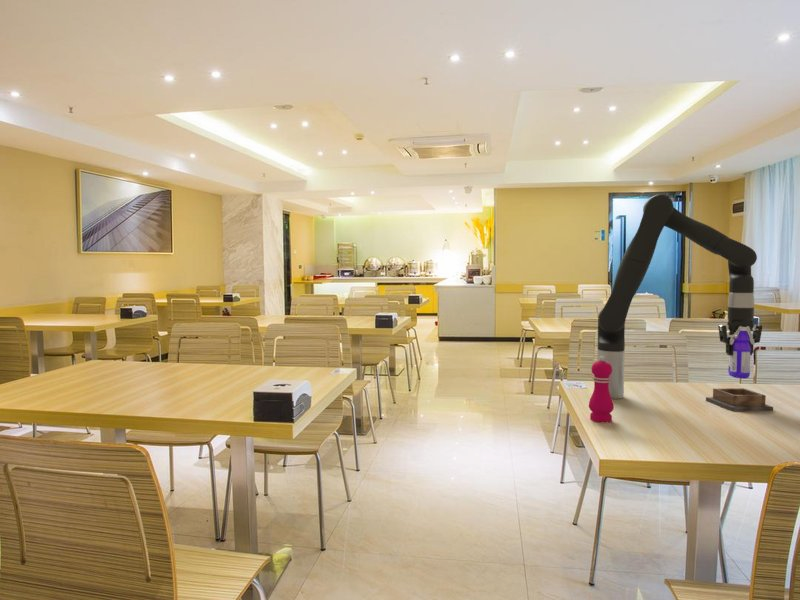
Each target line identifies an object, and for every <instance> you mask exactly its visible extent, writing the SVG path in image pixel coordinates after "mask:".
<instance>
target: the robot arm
mask: <svg viewBox="0 0 800 600" xmlns="http://www.w3.org/2000/svg"><path fill="white" fill-rule="evenodd" d="M642 208H643V209H642V212H643V213H642V217H641V220H640V223H639V226H638V229H637V231H636V232H635V235H634V236H633V238H632V240H631V241H630V243H629V244H628V246H627V248H626V250H625V252H624V254H623V257H622V258H621V261H620V263H619V266H618V269H617V272H616V275H615V278H614V282H613V286H612V290H611V293H610V294H609V297H608V299H607V300H606V303H605V305H604V306H603V308H602V309H601V310H600V311H599V313H598V317H597V361H599V357H600V356H603V357H605V362H608V363H609V364H610V365H611V367H612V373H611V375H610V376H609V377H610V382H609V393H610V396H611V398H612V400H614V399H615V400H617V399H623V398H624V396H625V394H624V393H625V347H626V346H625V345H626V344H625V342H626V341H625V337H626V336H625V331H626V329H625V327H626V325H625V324H626V321H627V316H628V312H629V310H630V306H631V305H632V304H631V303H632V300H633V298H634V297H635V294H637V291H638V289H640V286H641V285H642V283H643V281H644V278H645V276H646V274H647V272H648V270H649V268H650V265H651V262H652V259H653V257H654V254H655V251H656V247H657V244H658V240H659V237H660V236H661V233H662V231H663V229H664V228H665V227H666V228H669V229H671V230H672V231H675V233H678V234H680V235H682V236H684V237H685V238H687V239H689V240H690V241H691V242H693V243H694V244H696V245H698V246H700V247H701V248H703V249H705V250H706V251H708V252H710V253H712V254H713V255H717V256H720V257H721V258H724V259H725V260H727V267H728V268H727V269H728V274H729V283H728V284H729V286H728V297H727V323H726V324H719V325H718V335H719V341H720V342H721V343H723V344H725V353H726V355H728V356H729V355H730V356H732V355H733V345H732V344H733V342H734V339H736V338H737V336H738V334H739V332H740V331H741V327H747V334H748V337H749V339H750V341H749V345H750V348H751V351H750V356H753V354H754V345H755V344H758V343H760V342H761V337H762V332H763V325H761V324H754V322H753V321H754V319H755V296H754V292H755V291H754V289H755V288H754V287H755V284H754V283H755V282H754V281H755V280H754V277H753V276H752V266H753V265H755V264H756V262H757V260H758V256H757V255H758V254H757V252H756V251H755V250H754V249H753V248H751V246H748V245H746V244H744V243H742V242H739V241H737V240H735V239H733V238H731V237H729V236H728V235H726V234H725V233H723V232H721V231H719V230H717V229H715V228H714V227H712V226H710V225H708V224H705V223H702V222H701V221H698V220H696V219H693V218H692V217H690V216H687V215H686V214H685V213H682V212H680V211H679V210H678V209H676V208H675V207H674V203H673V200H672V198H670V196H668V195H666V194H655V195H653V196H651V197H649V198H648V199H647V200H646V202H645V203H644V205H643V207H642ZM727 331H728V332H727ZM597 361H596V362H597Z"/></svg>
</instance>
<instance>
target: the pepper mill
mask: <svg viewBox="0 0 800 600" xmlns="http://www.w3.org/2000/svg"><path fill="white" fill-rule="evenodd" d="M591 373H592V374H593V376H592V378H593V379H592V381H593V382H594V383H593V384H594V386H593V387H594V388H593V392H592V394H591V396H590V399H589V402H588V408H589V410H590V413H589V414H590V415H589V416H590V417H589V419H590V420H591V421H592V420H593V422H595V421H596V423H601V422H605V423H604V424H606V422H608V423H611V422H612V419H613V416H612V412H613V411H614V409H615V406H614V405H615V404H614V401H613V399H612V398H611V396H610V393H609V382H610V377H609V376H610V375H611V373H612V367H611V365H610V364H609V363H608V362H605V357H603V356H600V357H599V361H595V362H593V364H592V365H591Z"/></svg>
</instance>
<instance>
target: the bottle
mask: <svg viewBox="0 0 800 600" xmlns="http://www.w3.org/2000/svg"><path fill="white" fill-rule="evenodd" d="M749 341H750V339H749V337H748V334H747V327H741V331H740V332H739V334H738V336H737V338H736V339H734V342H733V344H732V345H733V355H732V356H730V355H728V370H727V372H728V375H729V376H730V377H732V378H736V379H748V378H749V377H750V374H751V355H750V351H751V348H750V345H749Z"/></svg>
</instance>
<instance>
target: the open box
mask: <svg viewBox="0 0 800 600" xmlns="http://www.w3.org/2000/svg"><path fill="white" fill-rule="evenodd" d="M766 397H767V395H765V394H762V393H759V392H756V391H752V390H750V389H748V388H742V387H739V388H731V387H729V388H719V387H718V388H712V396H711V397H710V396H708V397H707V396H705V401H706V402H708V403H711V404H713V405H716V406H718V407H720V408H723V409H726V410H727V411H731V412H747V411H748V412H757V411H758V412H762V411H763V412H768V411H769V412H770V411H771V412H773V411H774V406H771V405H769V404H766Z"/></svg>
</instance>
